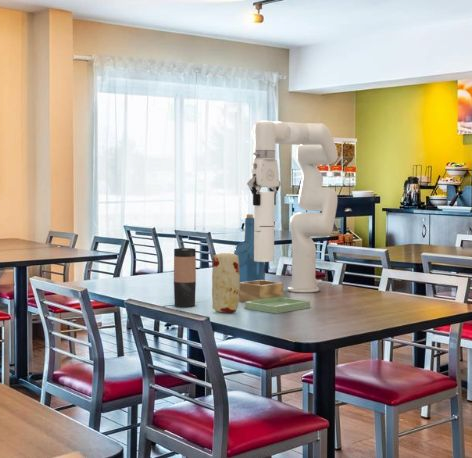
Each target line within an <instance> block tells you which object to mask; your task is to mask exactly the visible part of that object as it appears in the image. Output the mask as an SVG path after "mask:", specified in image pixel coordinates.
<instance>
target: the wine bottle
mask: <svg viewBox="0 0 472 458" xmlns="http://www.w3.org/2000/svg"><path fill="white" fill-rule="evenodd" d="M254 231H255V230H254V214H252V213H247V214H246V217H245V219H244V240H243V241H241V242H240V243H238V244H237V245H236V247H234V250H233V254H235V255H237V256H238V258H239V275H240V282H247V281H256V280H265V281H266V262H257V261H254Z"/></svg>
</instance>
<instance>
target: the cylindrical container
mask: <svg viewBox="0 0 472 458" xmlns="http://www.w3.org/2000/svg"><path fill="white" fill-rule="evenodd" d="M259 194H260V206H257V205H253V207H254V208H253V209H254V211H253V212H254V214H253V218H254V230H255V231H254V261H257V262H265V263H270V262H272V263H273V262H274V261H275V205H274V192H271V191H269V190H267V191H265V190H263V191H261V190H260V192H259Z"/></svg>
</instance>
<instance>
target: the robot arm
mask: <svg viewBox="0 0 472 458" xmlns="http://www.w3.org/2000/svg"><path fill="white" fill-rule="evenodd" d="M251 137H252V139H253V140H254V141H253V143H254V145H253V146H254V147H253V149H254V150H253V153H252V155H253V158H254V159H253V161H252V165H251V175H250V177H251V178H250V179H249V180H248V182H247V186H248V188H249V191H250V192H251V195H252V206H254V205H257V206H260V194H259V192H260V191H261V190H262V188H267V191H271V192H274V206H276V204H277V194H278V191H279V189H280V187H281V186H282V182H281V181H280V177H279V175H280V174H279V166H278V161H277V159H276V144H277V145H290V146H291V145H292V146H293V145H295V146H296V145H297V146H298V147H297V148H296V152H295V154H296V160H297V162H298V165H299V168H300V171H301V183H300V189H299V192H298V193H299V194H298V202H297V203H298V204H297V205H298V207H299V209H300V210H302V211H300V212H295V213H293V214H292V216H291V217H290V219H289V227H290V234H291V235H290V236H291V286H288V287H287V291H289V292H293V293H318V292H319V291H320V287H318V285H322V284H323V280H322V279H318V278H316V275H317V274H316V272H317V271H316V270H317V269H316V267H317V266H316V265H317V263H316V261H317V259H316V258H317V247H316V244H315V242H314V240H313V239H312V237H314V238H315V237H316V238H317V237H319V238H327V237H330V235H332V233H333V231H334V225H335V220H336V214H337V209H338V193H337V192H336V190H335V189H334V188H331V187H323V183H324V177H323V174H322V172H321V171H320V169H319V168H318V165H319V166H320V165H329V166H330V165H333V164H335V163H336V161H337V160H338V156H339V155H338V154H339V153H338V147H337V145H336V143H335V141H334V138H333V136H332V133H331V131H330V129H329V128H328V126H327V125H326V124H325V123H322V122H317V123H315V122H314V123H313V122H311V123H310V122H309V123H306V122H305V123H302V122H293V121H285V122H284V121H272V120H258V121H256V122H254V125H252V128H251Z"/></svg>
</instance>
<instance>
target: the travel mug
mask: <svg viewBox="0 0 472 458" xmlns="http://www.w3.org/2000/svg"><path fill="white" fill-rule="evenodd" d="M196 253H197V252H196V248H193V247H179V248H178V247H177V248H174V249H173V298H174V307H176V308H193V307H195V306H196V289H197V287H196V286H197V284H196V283H197V270H196V269H197V265H196V262H197V261H196V259H197V258H196V256H197V255H196Z"/></svg>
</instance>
